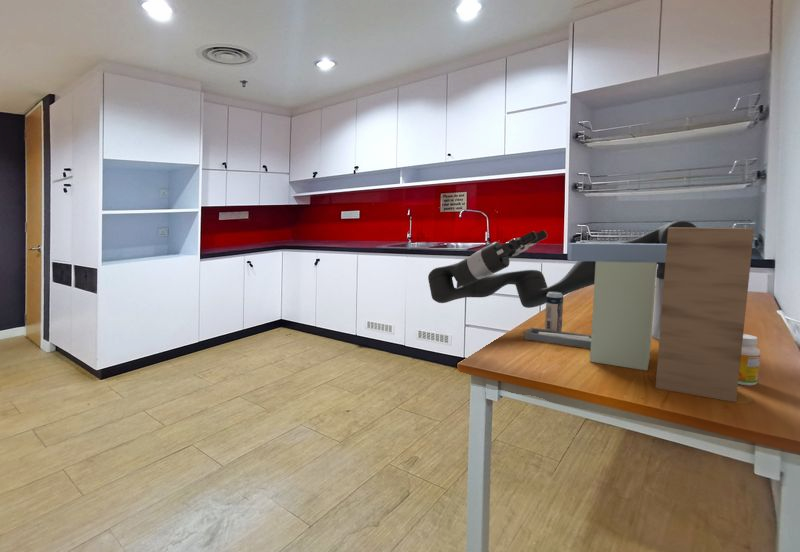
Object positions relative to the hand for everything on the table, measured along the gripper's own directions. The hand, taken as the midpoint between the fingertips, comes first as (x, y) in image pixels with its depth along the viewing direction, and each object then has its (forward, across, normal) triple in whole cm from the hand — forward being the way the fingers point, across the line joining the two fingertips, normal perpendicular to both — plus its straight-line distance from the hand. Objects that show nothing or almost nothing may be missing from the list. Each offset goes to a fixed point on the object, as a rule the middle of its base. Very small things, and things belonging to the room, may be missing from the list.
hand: (541, 233), depth 113 cm
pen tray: (-10, +10, +29) cm, 32 cm away
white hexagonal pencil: (-10, +11, +30) cm, 33 cm away
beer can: (-15, +19, +26) cm, 36 cm away
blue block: (+14, 0, +14) cm, 20 cm away
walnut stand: (+16, -11, +43) cm, 47 cm away
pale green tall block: (+3, +1, +36) cm, 36 cm away
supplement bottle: (+23, 0, +47) cm, 52 cm away
